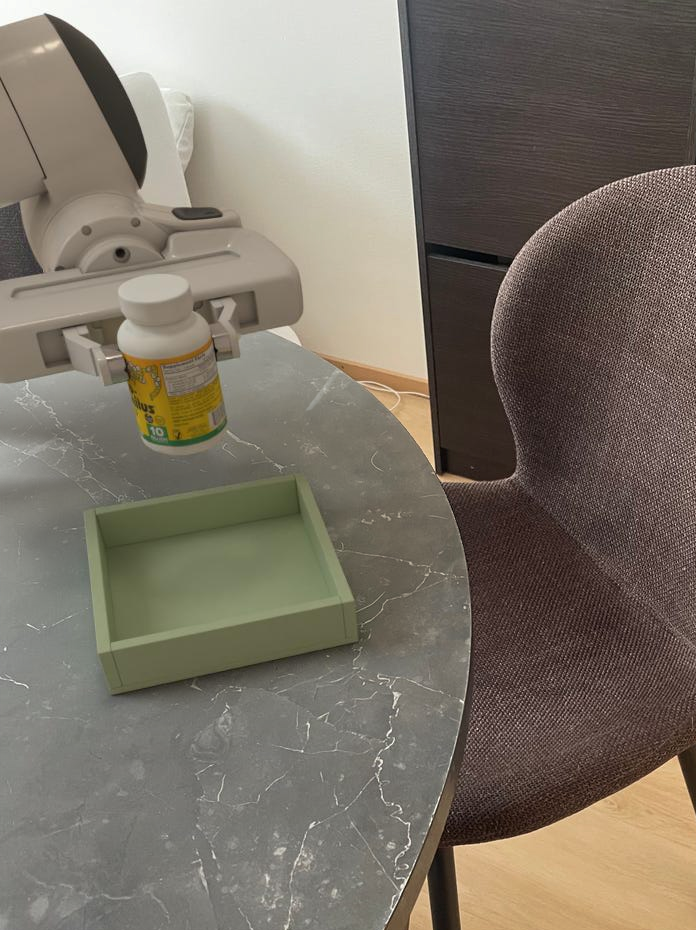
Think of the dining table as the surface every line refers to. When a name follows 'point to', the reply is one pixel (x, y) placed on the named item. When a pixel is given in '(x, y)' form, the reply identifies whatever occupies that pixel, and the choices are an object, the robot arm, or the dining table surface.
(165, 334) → the supplement bottle
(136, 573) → the tray
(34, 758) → the dining table surface
